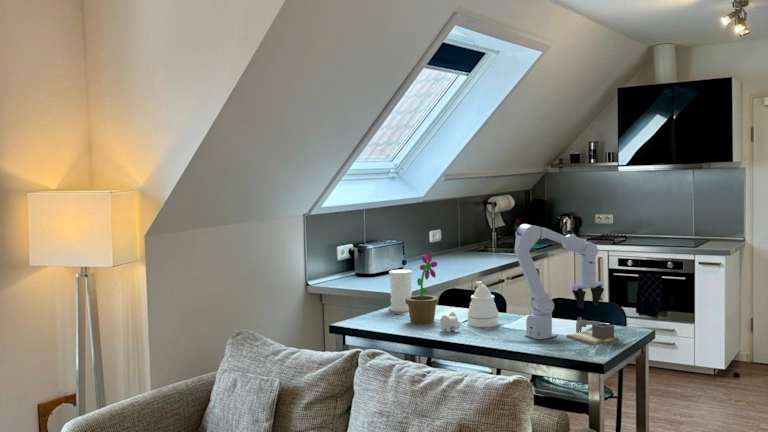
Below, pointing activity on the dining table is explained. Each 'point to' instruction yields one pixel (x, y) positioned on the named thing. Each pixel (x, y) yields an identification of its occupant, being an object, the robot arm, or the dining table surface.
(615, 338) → the post board
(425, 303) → the flowerpot
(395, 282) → the decorative container
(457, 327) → the elephant figurine
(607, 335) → the collar
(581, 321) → the caliper
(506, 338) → the dining table surface
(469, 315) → the honey pot
